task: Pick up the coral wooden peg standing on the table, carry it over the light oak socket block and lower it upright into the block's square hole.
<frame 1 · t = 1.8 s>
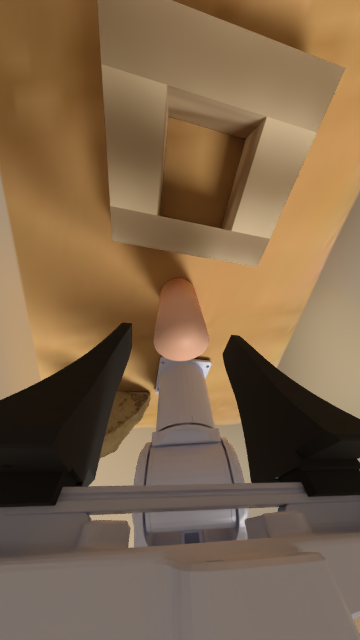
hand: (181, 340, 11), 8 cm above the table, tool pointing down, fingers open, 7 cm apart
peg: (178, 295, 18), on the table
socket block: (198, 181, 12), on the table
rock: (122, 395, 29), on the table
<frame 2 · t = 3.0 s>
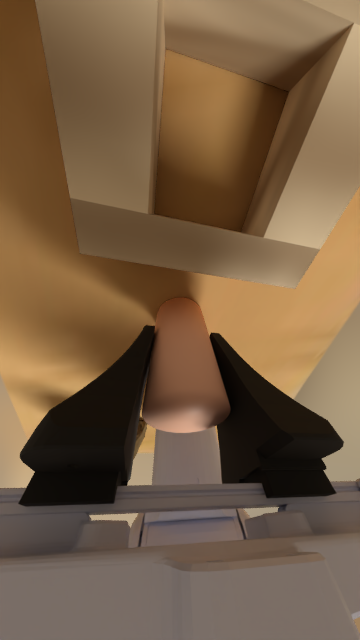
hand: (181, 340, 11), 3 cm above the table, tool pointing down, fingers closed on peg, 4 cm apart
peg: (179, 317, 14), on the table, touching gripper
socket block: (212, 161, 8), on the table
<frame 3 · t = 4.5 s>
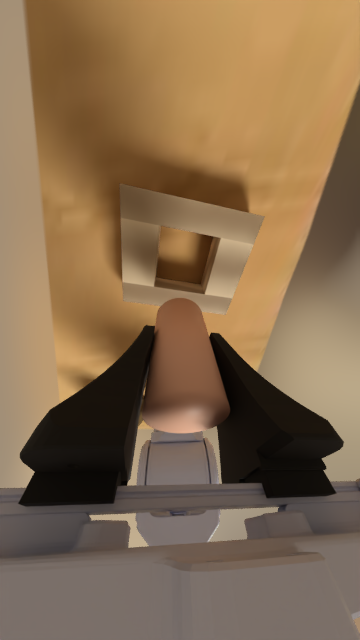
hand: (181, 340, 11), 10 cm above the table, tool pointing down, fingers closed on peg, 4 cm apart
peg: (179, 318, 14), point 7 cm above the table, touching gripper
socket block: (183, 257, 18), on the table
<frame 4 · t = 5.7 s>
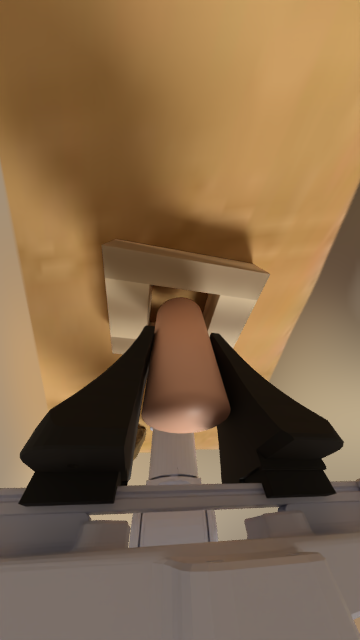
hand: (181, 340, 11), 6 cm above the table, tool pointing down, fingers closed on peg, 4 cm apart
peg: (179, 318, 14), point 3 cm above the table, touching gripper
socket block: (178, 303, 16), on the table
when the fingers open (5 cm above the table, at t = 6.3 s): peg drops 2 cm, resting in socket block.
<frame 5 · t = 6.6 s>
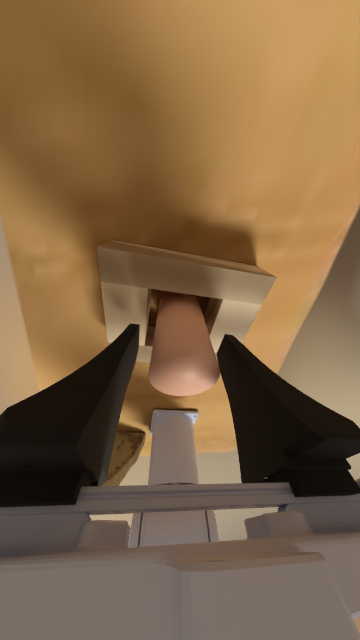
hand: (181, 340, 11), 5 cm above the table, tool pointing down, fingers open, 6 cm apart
peg: (179, 306, 15), resting in socket block
socket block: (178, 306, 15), on the table
rock: (120, 433, 32), on the table
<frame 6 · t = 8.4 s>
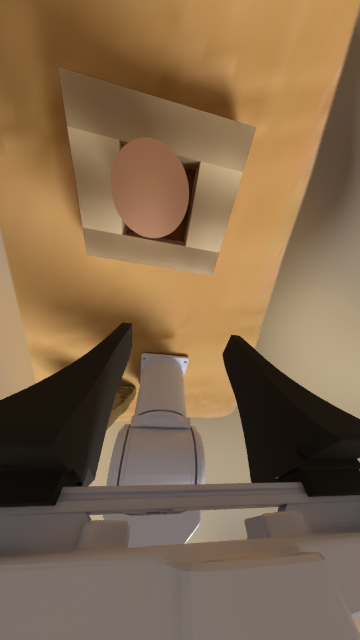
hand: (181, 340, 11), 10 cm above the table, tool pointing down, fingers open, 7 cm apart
peg: (160, 203, 15), resting in socket block
socket block: (160, 203, 15), on the table
rock: (110, 389, 31), on the table
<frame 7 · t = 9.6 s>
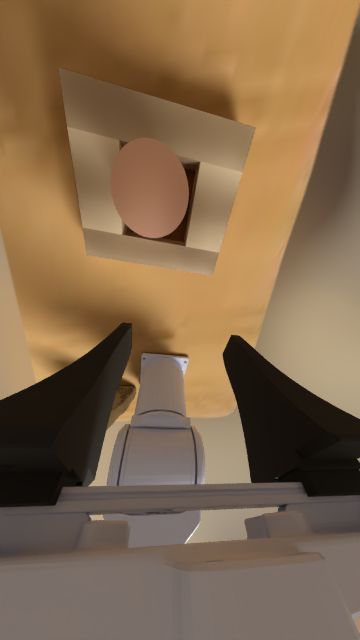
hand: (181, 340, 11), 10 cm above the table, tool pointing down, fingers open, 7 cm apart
peg: (160, 204, 15), resting in socket block
socket block: (160, 203, 15), on the table
rock: (110, 389, 32), on the table
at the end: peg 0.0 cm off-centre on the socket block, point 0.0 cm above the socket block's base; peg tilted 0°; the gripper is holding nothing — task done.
